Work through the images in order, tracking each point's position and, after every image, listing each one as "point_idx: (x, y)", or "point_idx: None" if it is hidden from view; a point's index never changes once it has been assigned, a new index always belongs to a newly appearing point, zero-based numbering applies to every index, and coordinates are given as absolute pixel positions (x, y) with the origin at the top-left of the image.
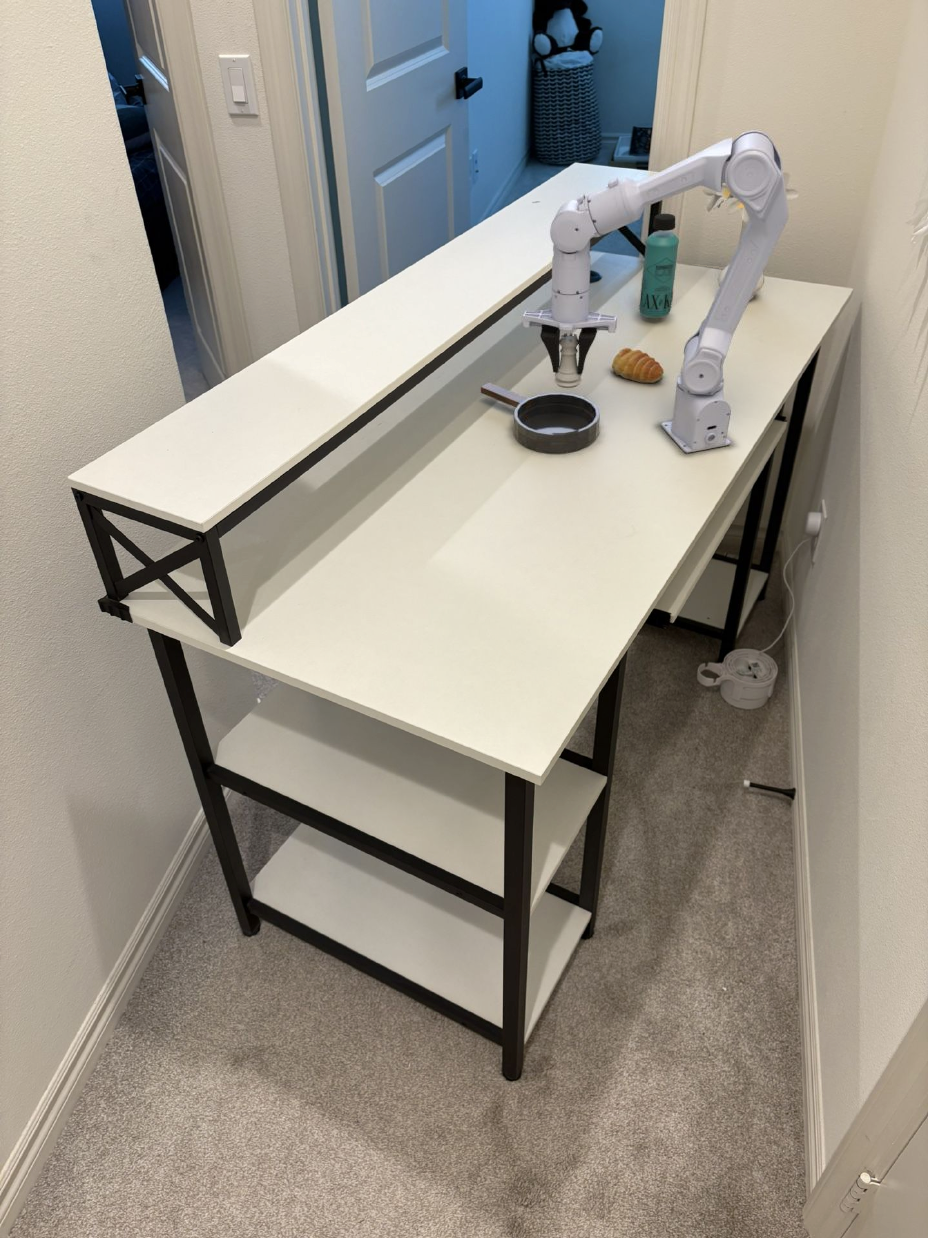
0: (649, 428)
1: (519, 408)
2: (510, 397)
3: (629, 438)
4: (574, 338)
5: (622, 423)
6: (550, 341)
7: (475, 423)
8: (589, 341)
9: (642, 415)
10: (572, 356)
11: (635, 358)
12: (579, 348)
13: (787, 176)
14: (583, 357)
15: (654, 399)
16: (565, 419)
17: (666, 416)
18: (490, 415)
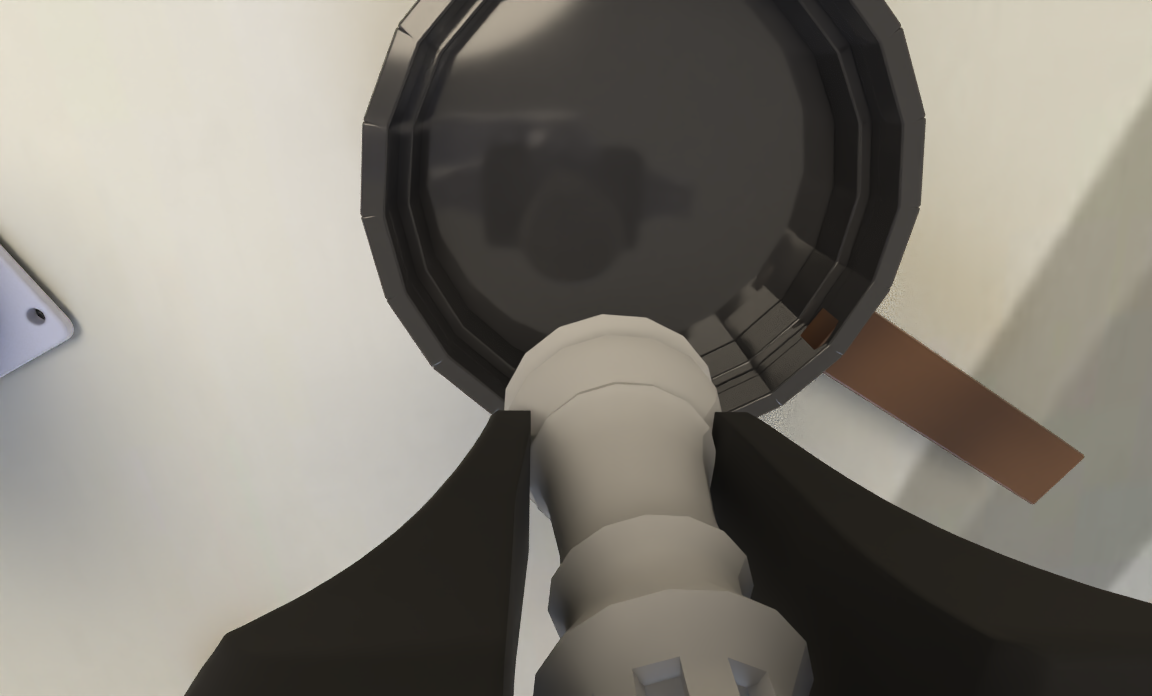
0: (136, 299)
1: (885, 241)
2: (929, 369)
3: (209, 177)
4: None
5: (292, 328)
6: (1006, 600)
7: (1060, 221)
8: (272, 639)
9: (213, 416)
10: (597, 517)
11: None
12: (500, 555)
13: None
14: (456, 492)
15: (202, 556)
16: (591, 308)
17: (91, 424)
18: (975, 311)
